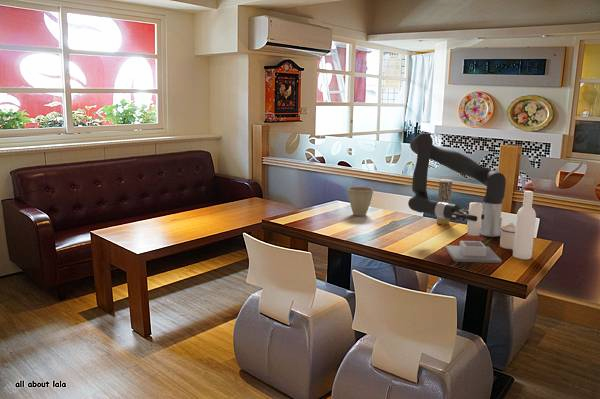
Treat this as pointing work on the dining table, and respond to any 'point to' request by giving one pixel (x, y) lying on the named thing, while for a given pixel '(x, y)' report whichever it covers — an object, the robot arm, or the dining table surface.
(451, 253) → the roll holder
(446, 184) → the paper tube
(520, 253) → the bottle
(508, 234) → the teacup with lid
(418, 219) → the dining table surface
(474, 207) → the paper roll
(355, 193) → the plant pot
